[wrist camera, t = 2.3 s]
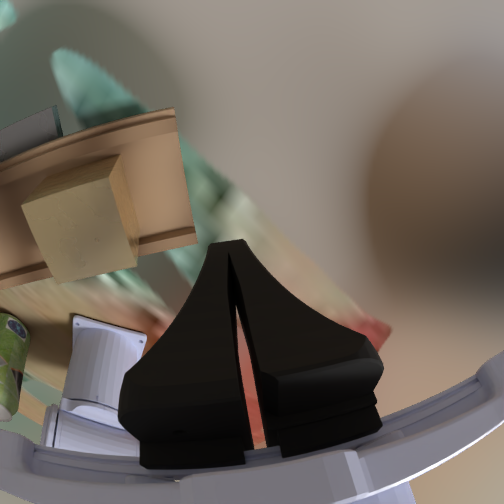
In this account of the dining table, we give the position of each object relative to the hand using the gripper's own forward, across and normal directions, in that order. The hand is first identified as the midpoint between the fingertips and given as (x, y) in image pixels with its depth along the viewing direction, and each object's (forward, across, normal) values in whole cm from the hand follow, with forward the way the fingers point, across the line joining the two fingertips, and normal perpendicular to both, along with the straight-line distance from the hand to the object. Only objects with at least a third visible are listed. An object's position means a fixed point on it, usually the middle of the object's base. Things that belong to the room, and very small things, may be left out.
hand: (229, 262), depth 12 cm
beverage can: (+11, +26, +13) cm, 31 cm away
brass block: (+7, +8, -1) cm, 10 cm away
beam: (+8, +15, -1) cm, 17 cm away
